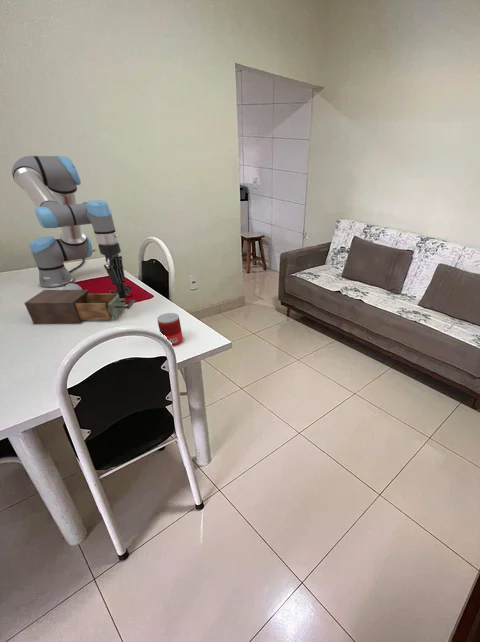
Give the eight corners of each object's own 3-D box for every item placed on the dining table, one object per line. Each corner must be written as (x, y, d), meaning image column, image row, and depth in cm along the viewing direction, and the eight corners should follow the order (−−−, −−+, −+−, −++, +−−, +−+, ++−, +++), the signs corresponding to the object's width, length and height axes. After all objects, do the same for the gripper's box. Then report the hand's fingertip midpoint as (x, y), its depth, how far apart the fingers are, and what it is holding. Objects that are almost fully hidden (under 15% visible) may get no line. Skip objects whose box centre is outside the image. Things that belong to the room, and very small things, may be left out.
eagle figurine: (121, 301, 158) (135, 291, 164) (110, 289, 155) (125, 280, 161) (116, 305, 163) (129, 296, 169) (105, 293, 160) (119, 285, 166)
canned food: (187, 338, 133) (182, 314, 127) (174, 348, 126) (169, 323, 120) (171, 335, 135) (166, 311, 129) (158, 344, 128) (152, 319, 122)
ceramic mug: (63, 304, 155) (57, 289, 151) (67, 298, 162) (62, 283, 158) (88, 303, 158) (83, 288, 154) (91, 296, 165) (87, 282, 161)
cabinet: (94, 309, 152) (88, 289, 147) (80, 323, 140) (72, 302, 135) (52, 309, 150) (44, 289, 145) (33, 324, 139) (24, 303, 133)
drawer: (139, 307, 153) (135, 292, 149) (130, 320, 142) (125, 304, 138) (87, 308, 151) (81, 292, 147) (73, 321, 140) (66, 304, 136)
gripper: (111, 247, 125) (126, 303, 138) (124, 239, 136) (137, 291, 149) (91, 247, 125) (108, 303, 137) (105, 238, 135) (120, 291, 148)
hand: (123, 297), depth 143 cm, fingers closed
